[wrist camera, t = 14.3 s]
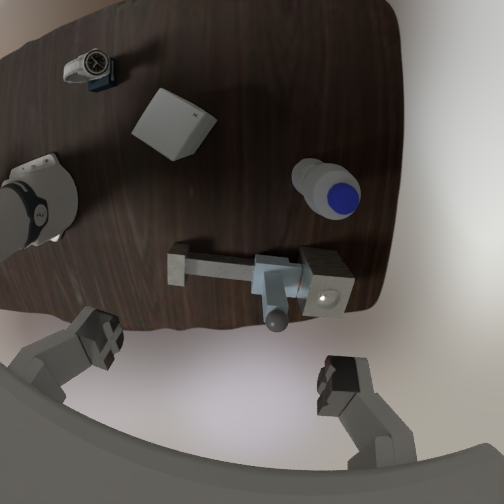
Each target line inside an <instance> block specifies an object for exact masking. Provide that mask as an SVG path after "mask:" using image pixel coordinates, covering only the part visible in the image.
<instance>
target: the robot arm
mask: <svg viewBox="0 0 504 504" xmlns="http://www.w3.org/2000/svg"><path fill="white" fill-rule="evenodd" d="M47 160H48V162H47ZM77 208H78V195H77V189H76V186H75V183H74V181H73V179H72V177H71V175H70V174H69V173H68V172H67V171H66V170H65V169H64V168H63V167H62V166H61V165H60V163H59V161H58V159H57V157H56V155H55V154H54V153H51V154H48V155H45V156H43V157H40V158H38V159H35V160H32V161H30V162H27V163H25V164H23V165H20V166H18V167H16V168H13V169H12V170H11V173H10V177H9V179H8V180H5V181H4V182H3V184H2V186H1V188H0V264H1V263H2V262H4V261H5V260H6V259H7V258H8V257H9V256H10V255H12V254H13V253H14V252H16V251H20V250H22V249H25V248H27V247H28V246H30V245H31V244H32V245H35V246H39V245H41V244H43V243H44V242H46V241H48V240H52V241H54V242H56V241H58V240H60V238H61V236H62V234H63V231H64V230H65V229H66V228H68V227H69V226H70V225H71V224H72V222H73V221H74V219H75V216H76V213H77ZM119 324H120V320H119V317H118V316H116V315H113V314H110V313H107V312H104V311H101V310H98V309H95V308H92V307H89V306H87V307H84V309H83V310H82V311H81V312H80V313H79V315H78V316H77V317H76V318H75V319H74V321H73V322H72V323H71V325H70V326H69V327H68V328H67V330H61V331H59V332H57V333H54V334H52V335H50V336H48V337H45V338H43V339H41V340H39V341H37V342H34V343H32V344H30V345H28V346H25V347H23V348H22V349H21V350H20V352H19V353H18V354H17V356H16V357H15V358H14V360H13V361H12V362H11V364H10V365H9V366H8V368H7V367H6V366H4V365H3V364H2V363H0V504H504V456H503V455H502V454H501V453H500V452H499V451H498V450H497V449H496V448H494V447H493V446H492V445H490V444H488V443H483V444H479V445H477V446H474V447H471V448H468V449H465V450H462V451H458V452H455V453H452V454H448V455H444V456H440V457H436V458H431V459H427V460H423V461H417V456H416V449H415V443H414V437H413V432H412V431H411V430H410V429H409V428H408V427H407V426H406V424H405V423H404V422H403V421H402V420H401V419H400V418H399V416H398V415H397V414H396V413H395V412H394V411H393V410H392V409H391V408H390V406H389V405H388V404H387V403H386V402H385V401H384V400H383V399H382V397H381V396H380V395H379V394H378V393H374V390H373V385H372V379H371V374H370V369H369V364H368V360H367V358H359V357H358V358H357V357H345V356H330V355H329V356H327V358H326V360H325V367H323V368H321V370H320V373H319V376H318V381H317V392H318V393H319V394H320V397H319V398H318V400H317V415H321V416H335V417H339V419H340V421H341V423H342V424H343V426H344V428H345V429H346V431H347V432H348V434H349V436H350V437H351V438H352V440H353V441H354V443H355V445H356V447H357V448H358V450H359V451H360V452H358V453H357V454H356V455H355V456H353V457H352V458H351V459H350V460H349V461H348V470H336V471H335V470H334V471H309V470H288V469H274V468H264V467H255V466H248V465H242V464H235V463H230V462H224V461H219V460H214V459H209V458H204V457H200V456H196V455H192V454H188V453H184V452H180V451H177V450H173V449H170V448H166V447H163V446H160V445H157V444H154V443H151V442H148V441H145V440H142V439H139V438H136V437H134V436H131V435H129V434H126V433H123V432H121V431H118V430H116V429H114V428H111V427H109V426H106V425H104V424H102V423H100V422H98V421H96V420H93V419H91V418H89V417H87V416H85V415H83V414H81V413H79V412H77V411H75V410H73V409H71V408H70V407H68V406H66V405H64V404H63V402H64V400H65V398H66V394H65V393H64V391H63V390H62V389H61V387H60V386H62V385H63V384H65V383H66V382H68V381H69V380H71V379H72V378H74V377H75V376H77V375H78V374H80V373H81V372H83V371H84V370H86V369H87V368H88V367H90V366H91V365H94V366H96V367H99V368H102V369H105V370H107V371H108V370H109V368H110V366H111V364H112V363H113V361H114V359H115V358H114V354H115V353H117V352H119V351H120V349H121V347H122V345H123V341H124V334H123V330H122V329H121V328H120V327H119V326H118V325H119Z"/></svg>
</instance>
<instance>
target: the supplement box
mask: <svg viewBox="0 0 504 504" xmlns="http://www.w3.org/2000/svg"><path fill="white" fill-rule="evenodd" d="M216 122H217V119H216V118H214V117H213V116H211V115H210V114H208V113H207V112H205V111H204V110H202V109H201V108H199V107H197V106H196V105H194V104H192V103H191V102H189V101H187V100H185V99H183V98H181V97H179V96H177V95H175V94H173V93H171V92H169V91H167V90H165V89H163V88H160V89H159V90H158V92H157V93H156V95H155V96H154V98H153V99H152V101H151V102H150V104H149V105H148V107H147V108H146V110H145V111H144V113H143V115H142V116H141V118H140V119H139V121H138V123H137V125H136V126H135V128H134V130H133V131H132V133H131V134H133V135H134V136H136V137H137V138H139V139H140V140H142V141H144V142H145V143H146V144H148V145H149V146H151V147H152V148H154V149H155V150H157V151H158V152H160V153H161V154H163V155H164V156H165V157H167V158H168V159H170V160H171V161H175V160H178V159H181V158H183V157H186V156H189V155H192V154H194V153H195V152H196V150H197V149H198V147H199V146H200V145H201V143H202V142H203V140H204V139H205V137H206V136H207V134H208V133H209V132H210V130H211V129H212V127H213V126H214V125H215V123H216Z"/></svg>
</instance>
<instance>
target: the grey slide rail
mask: <svg viewBox="0 0 504 504" xmlns="http://www.w3.org/2000/svg"><path fill="white" fill-rule="evenodd" d="M297 264H301V265H302V267H303V269H302V273H301V278H302V280H301V285H300V287H298V290H297V298H298V302H299V305H300V309H301V312H302V316H318V317H338V318H342V316H343V314H344V311H345V308H346V305H347V302H348V299H349V296H350V293H351V290H352V287H353V284H354V281H355V277H354V276H353V275H352V273H351V272H350V270H349V269H348V267H347V266H346V264H345V263H344V261H343V260H342V259H341V257H340V256H339V254H338V253H337V252H336V251H335V250H326V249H318V248H310V247H300V251H299V256H298V261H297ZM254 268H255V259H250V258H241V257H232V256H223V255H214V254H205V253H196V252H190V244H183V243H174V244H173V246H172V248H171V249H170V251H169V252H168V284H169V285H177V286H185V283H186V281H187V278H188V276H189V274H193V275H202V276H210V277H219V278H228V279H237V280H247V281H253V275H254Z"/></svg>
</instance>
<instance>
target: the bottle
mask: <svg viewBox="0 0 504 504" xmlns="http://www.w3.org/2000/svg"><path fill="white" fill-rule="evenodd" d="M292 183H293V185H294V187H295V188H296V190H297V191H298V192H299V193H301V194H302V195H304V198H305V200H306V202H307V204H308V205H309V207H310V208H311V209H312V210H313V211H314V212H316V213H318V214H320V215H322V216H324V217H326V218H328V219H332V220H340V219H344V218H346V217H348V216H349V215H351V214H352V213H353V212H354V211H355V210H356V208H357V207H358V204H359V202H360V197H361V192H360V187H359V184H358V182H357V180H356V179H355V178H354V177H353V176H352V175H351V174H350V173H349V172H348V171H347V170H346V169H345V168H343V167H342V166H339V165H336V164H331V163H323V162H321V161H320V160H317V159H312V158H308V159H303V160H301V161H300V162H299V163H297V164H296V166H295V167H294V168H293V170H292Z"/></svg>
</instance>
